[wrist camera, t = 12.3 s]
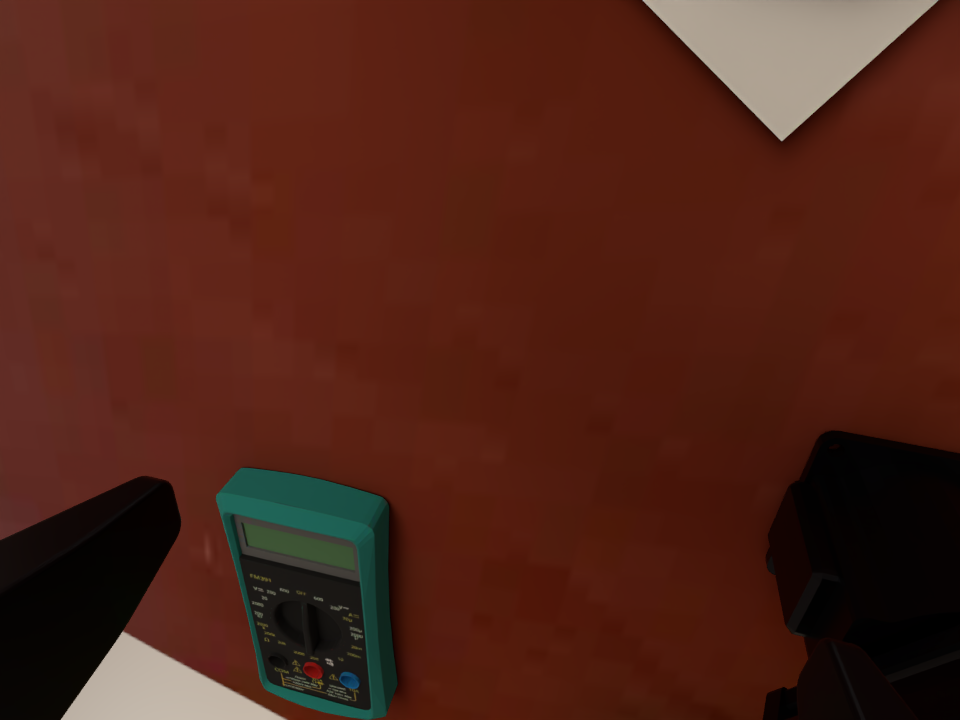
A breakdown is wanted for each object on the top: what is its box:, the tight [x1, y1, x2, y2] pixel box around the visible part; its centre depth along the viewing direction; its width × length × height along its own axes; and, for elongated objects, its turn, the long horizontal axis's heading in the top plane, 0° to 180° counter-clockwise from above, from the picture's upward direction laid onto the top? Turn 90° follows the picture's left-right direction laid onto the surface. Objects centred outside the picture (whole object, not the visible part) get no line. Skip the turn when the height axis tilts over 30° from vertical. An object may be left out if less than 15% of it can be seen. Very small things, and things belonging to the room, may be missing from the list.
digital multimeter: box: [216, 468, 398, 720], centre depth 31 cm, size 7×15×3 cm, turn 178°
